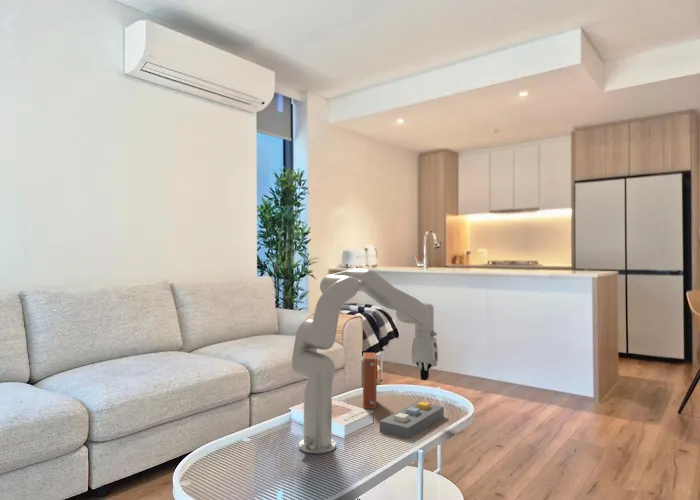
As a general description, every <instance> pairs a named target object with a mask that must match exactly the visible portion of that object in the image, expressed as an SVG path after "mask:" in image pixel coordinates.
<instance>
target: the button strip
mask: <svg viewBox="0 0 700 500" xmlns="http://www.w3.org/2000/svg"><path fill="white" fill-rule="evenodd" d="M420 402H421V401H416V402H413V403H411V404H410V405H408V406H406V407H403V408H402V409H399V410H398V411H396V412H395V413H392V414H390V415H389V416H386V417H385V418H382V419H380V420H379V432H380V433H384V434H386V435H391V436H395V437H399V438H403V439H406V438H407V440H409V439H411V438H412V437H414V436H415V435H417V434H419V433H420V432H421V431H423V430H425V429H427V428H428V427H430V426H431V425H433V424H434V423H436V422H437V421H440V420H441V419H442V418H443V417H444V416H445V415H444V414H445V413H444V409H445V408H444V406H441V405H435V404H432V403H430V409H428V410H422V409H420V414H419V415H418V416H411V415H409V421H407V422H405V423H402V422H398V421H394V416H395V415H397V414H398V413H403V414H406V409H408V408H410V407H414V408H417V404H418V403H420ZM410 437H411V438H410Z"/></svg>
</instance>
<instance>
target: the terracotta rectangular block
mask: <svg viewBox="0 0 700 500" xmlns="http://www.w3.org/2000/svg"><path fill="white" fill-rule="evenodd" d="M360 361H361V366H360V367H361V375H360V378H361V381H360V382H361V383H362V408H363V409H376V407H377V392H378V391H377V387H378V386H377V383H378V382H377V381H378V358H377V357H376V352H363V353H362V356H361V360H360Z"/></svg>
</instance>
